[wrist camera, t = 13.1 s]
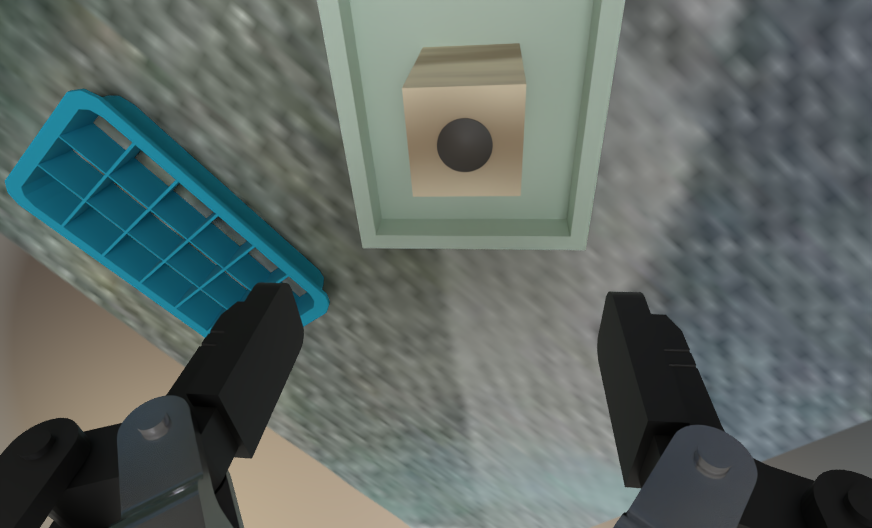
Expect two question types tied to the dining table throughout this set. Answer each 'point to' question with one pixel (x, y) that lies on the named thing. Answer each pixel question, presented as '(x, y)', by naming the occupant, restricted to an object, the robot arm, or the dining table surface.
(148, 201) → the ice cube tray
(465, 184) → the birch block
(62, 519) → the robot arm
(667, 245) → the dining table surface
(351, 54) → the tray
